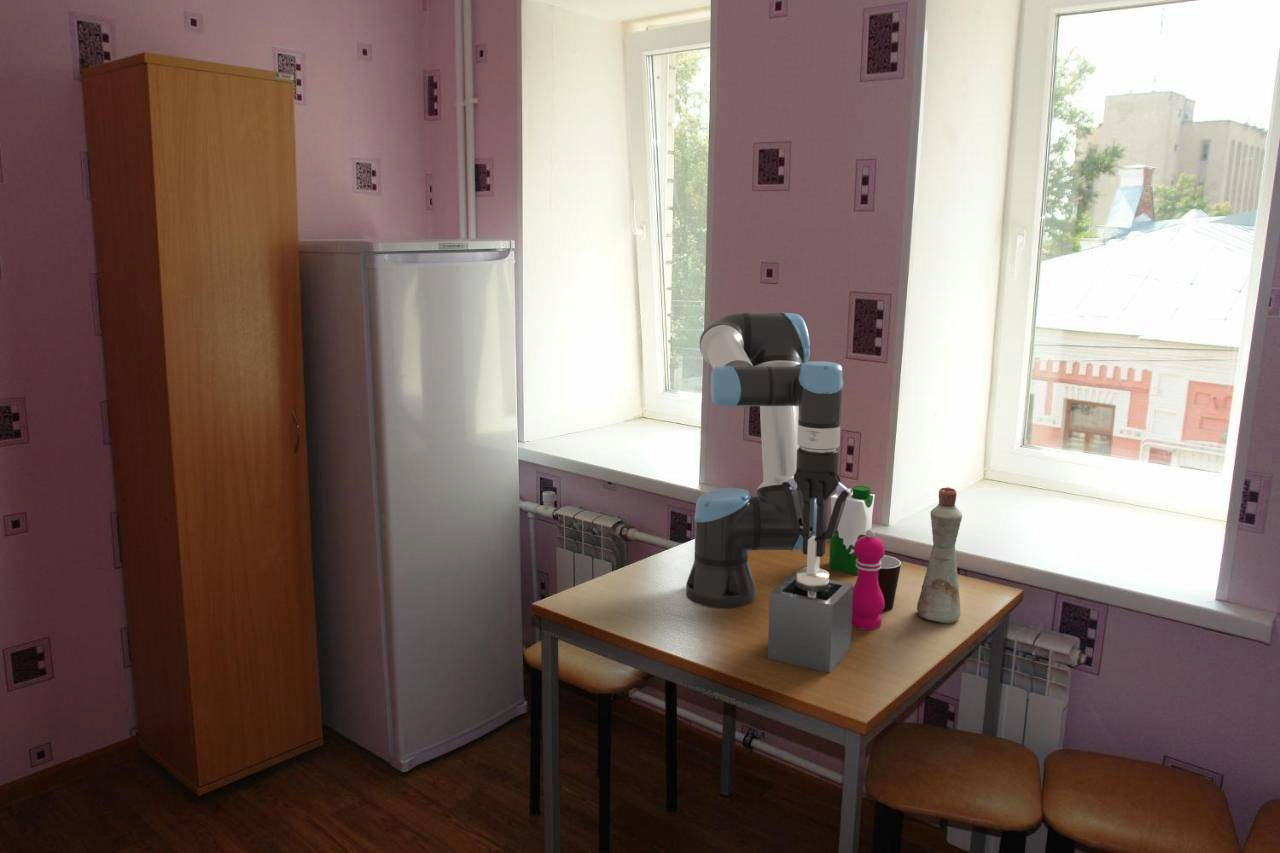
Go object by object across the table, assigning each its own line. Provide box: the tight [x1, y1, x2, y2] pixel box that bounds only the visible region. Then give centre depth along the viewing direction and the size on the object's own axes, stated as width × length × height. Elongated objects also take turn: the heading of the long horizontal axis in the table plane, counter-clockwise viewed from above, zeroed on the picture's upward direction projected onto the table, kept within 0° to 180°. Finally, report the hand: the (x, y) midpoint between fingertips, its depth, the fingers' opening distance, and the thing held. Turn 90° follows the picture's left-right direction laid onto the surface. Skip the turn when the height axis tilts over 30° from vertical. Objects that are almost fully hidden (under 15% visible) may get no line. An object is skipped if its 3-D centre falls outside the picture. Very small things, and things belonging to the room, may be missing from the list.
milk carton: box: [828, 485, 876, 576], centre depth 222 cm, size 9×9×20 cm
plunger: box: [795, 566, 830, 598], centre depth 177 cm, size 8×8×15 cm
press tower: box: [767, 572, 855, 674], centre depth 177 cm, size 12×12×13 cm
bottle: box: [916, 486, 963, 625], centre depth 193 cm, size 9×9×28 cm
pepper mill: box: [851, 528, 886, 631], centre depth 190 cm, size 7×7×20 cm
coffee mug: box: [878, 554, 902, 613], centre depth 202 cm, size 12×9×10 cm
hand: (812, 571), depth 175 cm, fingers closed
